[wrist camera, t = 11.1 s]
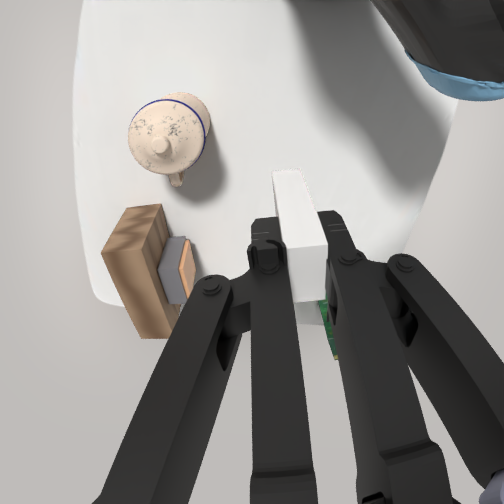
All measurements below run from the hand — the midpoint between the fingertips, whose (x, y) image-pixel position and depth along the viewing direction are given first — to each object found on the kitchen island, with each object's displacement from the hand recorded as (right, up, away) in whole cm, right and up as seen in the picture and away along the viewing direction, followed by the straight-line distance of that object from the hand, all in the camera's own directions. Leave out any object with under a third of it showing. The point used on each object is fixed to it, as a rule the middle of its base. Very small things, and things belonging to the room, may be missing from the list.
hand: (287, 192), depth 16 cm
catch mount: (-18, -3, +35) cm, 40 cm away
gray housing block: (-16, -4, +34) cm, 38 cm away
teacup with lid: (-12, +14, +23) cm, 30 cm away
